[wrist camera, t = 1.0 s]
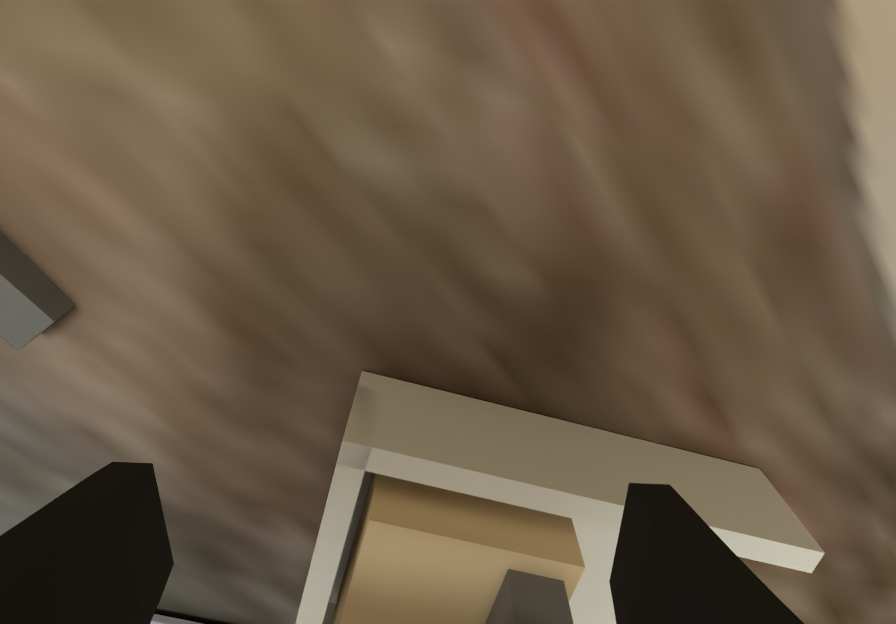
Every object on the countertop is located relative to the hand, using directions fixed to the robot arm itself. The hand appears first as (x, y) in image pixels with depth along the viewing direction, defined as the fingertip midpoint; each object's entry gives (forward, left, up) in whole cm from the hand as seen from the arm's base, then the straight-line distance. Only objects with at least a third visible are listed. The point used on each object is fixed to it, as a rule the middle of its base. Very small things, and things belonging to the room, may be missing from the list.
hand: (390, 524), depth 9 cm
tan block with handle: (-8, -3, -9) cm, 13 cm away
